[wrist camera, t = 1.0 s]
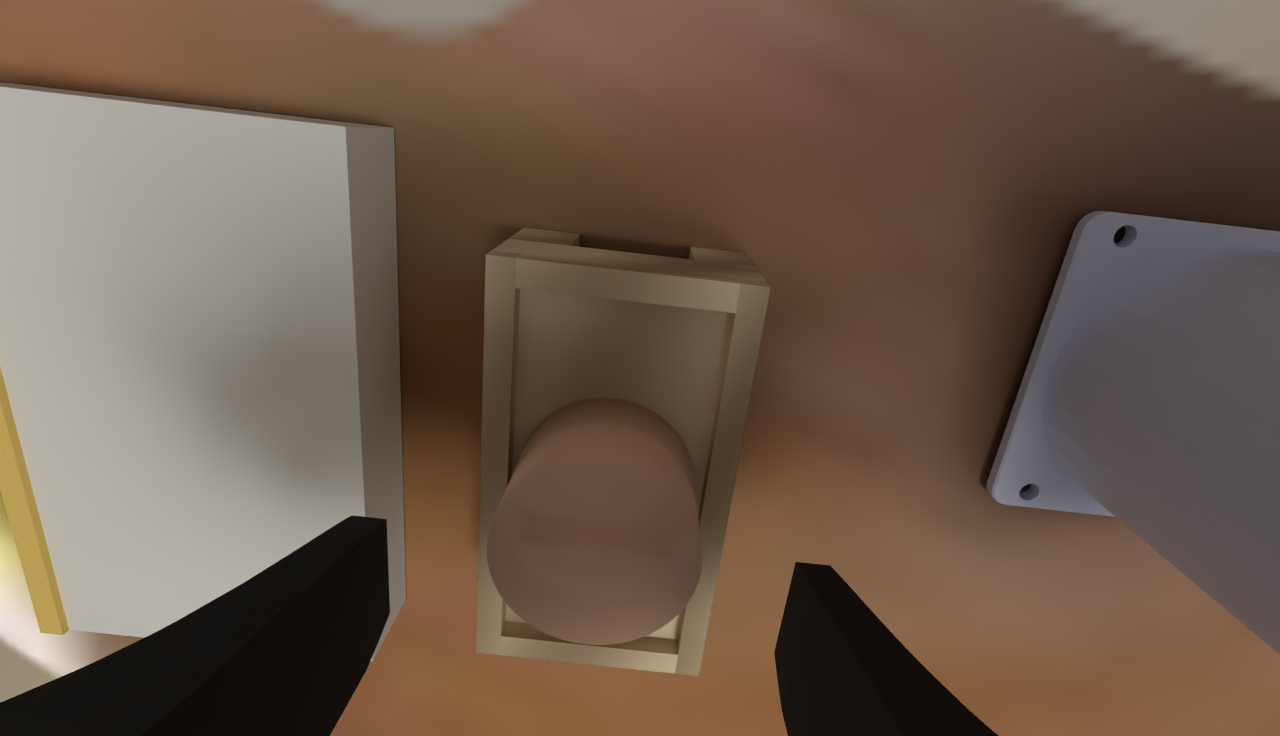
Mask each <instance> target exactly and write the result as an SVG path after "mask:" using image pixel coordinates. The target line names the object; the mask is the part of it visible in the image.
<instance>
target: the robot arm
mask: <svg viewBox="0 0 1280 736" xmlns="http://www.w3.org/2000/svg"><path fill="white" fill-rule="evenodd" d="M1122 226H1124V227H1125V229H1126V230H1125V236H1124V237H1123V239H1122V240H1121V241H1120V242H1118V243H1117V244H1115V243H1114V235H1115V233H1116V231H1117V230H1118V229H1119V228H1121V227H1122ZM1027 484H1031V486H1030V488H1029V489H1028V490H1027V491H1025V492H1022V493H1020V490H1021V488H1022V487H1023V486H1025V485H1027ZM987 490H988V493H989V494H990V495H991V496H992V497H993V498H994V499H995V500H996V501H997V502H998V503H1001V504H1004V505H1012V506H1021V507H1030V508H1039V509H1048V510H1057V511H1066V512H1075V513H1084V514H1094V515H1103V516H1112V517H1116V518H1118V519H1119V520H1120V521H1121V522H1122V523H1124V524H1125V525H1126V526H1127V527H1128V528H1130V529H1131V530H1132V531H1133V532H1134V533H1136V534H1137V535H1138V536H1139V537H1140V538H1141V539H1143V540H1144V541H1145V542H1146V543H1147V544H1149V545H1150V546H1151V547H1152V548H1153V549H1155V550H1156V551H1157V552H1158V553H1159V554H1161V555H1162V556H1163V557H1164V558H1165V559H1167V560H1168V561H1169V562H1170V563H1171V564H1173V565H1174V566H1175V567H1176V568H1177V569H1178V570H1180V571H1181V572H1182V573H1183V574H1184V575H1186V576H1187V577H1188V578H1189V579H1190V580H1192V581H1193V582H1194V583H1195V584H1196V585H1198V586H1199V587H1200V588H1201V589H1202V590H1204V591H1205V592H1206V593H1207V594H1208V595H1210V596H1211V597H1212V598H1213V599H1214V600H1215V601H1217V602H1218V603H1219V604H1220V605H1221V606H1223V607H1224V608H1225V609H1226V610H1227V611H1229V612H1230V613H1231V614H1232V615H1233V616H1235V617H1236V618H1237V619H1238V620H1239V621H1241V622H1242V623H1243V624H1244V625H1245V626H1247V627H1248V628H1249V629H1250V630H1251V631H1253V632H1254V633H1255V634H1256V635H1257V636H1258V637H1260V638H1261V639H1262V640H1263V641H1264V642H1266V643H1267V644H1268V645H1269V646H1270V647H1272V648H1273V649H1274V650H1275V651H1276V652H1278V653H1279V654H1280V231H1273V230H1264V229H1256V228H1247V227H1238V226H1230V225H1221V224H1213V223H1204V222H1195V221H1187V220H1178V219H1170V218H1161V217H1152V216H1144V215H1135V214H1127V213H1118V212H1109V211H1094V212H1092V213H1089V214H1087V215H1085V216H1084V217H1083V218H1082V219H1081V220H1080V221H1079V222H1078V224H1077V226H1076V228H1075V229H1074V232H1073V235H1072V238H1071V241H1070V244H1069V247H1068V250H1067V253H1066V255H1065V258H1064V261H1063V264H1062V267H1061V270H1060V273H1059V276H1058V279H1057V281H1056V284H1055V287H1054V290H1053V293H1052V296H1051V299H1050V302H1049V305H1048V307H1047V310H1046V313H1045V316H1044V319H1043V322H1042V325H1041V328H1040V331H1039V333H1038V336H1037V339H1036V342H1035V345H1034V348H1033V351H1032V354H1031V357H1030V359H1029V362H1028V365H1027V368H1026V371H1025V374H1024V377H1023V380H1022V383H1021V385H1020V388H1019V391H1018V394H1017V397H1016V400H1015V403H1014V406H1013V409H1012V411H1011V414H1010V417H1009V420H1008V423H1007V426H1006V429H1005V432H1004V435H1003V437H1002V440H1001V443H1000V446H999V449H998V452H997V455H996V458H995V461H994V463H993V466H992V469H991V472H990V475H989V478H988V481H987ZM389 614H390V598H389V570H388V542H387V519H382V518H372V517H363V516H353V515H352V516H350V517H348V518H346V519H345V520H343V521H341V522H340V523H338V524H336V525H335V526H333V527H331V528H330V529H328V530H327V531H325V532H323V533H322V534H320V535H319V536H317V537H316V538H314V539H312V540H311V541H309V542H308V543H306V544H305V545H303V546H302V547H300V548H298V549H297V550H295V551H294V552H292V553H291V554H289V555H287V556H286V557H284V558H283V559H281V560H279V561H278V562H276V563H275V564H273V565H271V566H270V567H268V568H267V569H265V570H263V571H262V572H260V573H259V574H257V575H255V576H254V577H252V578H250V579H249V580H247V581H246V582H244V583H242V584H241V585H239V586H237V587H235V588H234V589H232V590H230V591H228V592H227V593H225V594H223V595H221V596H220V597H218V598H216V599H214V600H213V601H211V602H209V603H207V604H206V605H204V606H202V607H200V608H199V609H197V610H195V611H193V612H192V613H190V614H188V615H186V616H185V617H183V618H181V619H179V620H178V621H176V622H174V623H172V624H170V625H168V626H166V627H164V628H163V629H161V630H159V631H157V632H155V633H153V634H151V635H149V636H147V637H145V638H143V639H141V640H139V641H137V642H135V643H133V644H131V645H129V646H127V647H125V648H123V649H121V650H119V651H117V652H115V653H113V654H110V655H108V656H106V657H104V658H102V659H100V660H98V661H96V662H94V663H92V664H89V665H87V666H85V667H83V668H81V669H79V670H76V671H74V672H72V673H69V674H67V675H65V676H62V677H60V678H58V679H55V680H53V681H50V682H48V683H46V684H44V685H41V686H39V687H36V688H34V689H32V690H29V691H27V692H25V693H22V694H20V695H18V696H16V697H13V698H11V699H8V700H6V701H4V702H1V703H0V736H330V734H331V732H332V730H333V729H334V727H335V725H336V723H337V722H338V720H339V718H340V716H341V715H342V713H343V711H344V709H345V707H346V706H347V704H348V702H349V700H350V699H351V697H352V695H353V693H354V691H355V690H356V688H357V686H358V684H359V682H360V681H361V679H362V677H363V675H364V673H365V671H366V670H367V668H368V665H369V663H370V661H371V658H372V656H373V654H374V651H375V649H376V647H377V644H378V642H379V639H380V637H381V634H382V632H383V629H384V627H385V624H386V622H387V619H388V617H389ZM774 653H775V661H776V669H777V678H778V686H779V693H780V700H781V707H782V712H783V717H784V721H785V725H786V729H787V733H788V736H998V735H997V734H996V733H994V732H993V731H992V730H991V729H990V728H989V727H987V726H986V725H985V724H984V723H983V722H982V721H981V720H980V719H978V718H977V717H976V716H975V715H974V714H973V713H972V712H971V711H969V710H968V709H967V708H966V707H965V706H964V705H963V704H962V703H961V702H960V701H959V700H958V699H957V698H956V697H955V696H954V695H953V694H952V693H950V692H949V691H948V690H947V689H946V688H945V687H944V686H943V685H942V684H941V683H940V682H939V681H938V680H937V679H936V678H935V677H934V676H933V675H932V674H931V673H930V672H929V671H928V670H927V669H926V668H925V667H924V666H923V665H922V664H921V663H920V662H919V661H918V660H917V659H916V658H915V657H914V656H913V655H912V654H911V653H910V652H909V651H908V650H907V649H906V648H905V647H904V646H903V645H902V643H901V642H900V641H899V640H898V639H897V638H896V637H895V636H894V635H893V634H892V633H891V632H890V631H889V630H888V628H887V627H886V626H885V625H884V624H883V623H882V622H881V621H880V620H879V619H878V618H877V616H876V615H875V614H874V613H873V612H872V611H871V610H870V609H869V608H868V607H867V605H866V604H865V603H864V602H863V601H862V600H861V599H860V598H859V597H858V595H857V594H856V593H855V592H854V591H853V590H852V589H851V588H850V587H849V585H848V584H847V583H846V582H845V581H844V580H843V579H842V578H841V577H840V576H839V574H838V573H837V572H836V571H835V570H834V569H833V568H832V567H831V566H829V565H819V564H810V563H800V562H796V563H795V568H794V572H793V576H792V580H791V585H790V589H789V593H788V597H787V601H786V606H785V610H784V614H783V618H782V623H781V627H780V631H779V635H778V640H777V644H776V648H775V652H774Z"/></svg>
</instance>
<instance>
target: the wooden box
mask: <svg viewBox="0 0 1280 736" xmlns="http://www.w3.org/2000/svg"><path fill="white" fill-rule="evenodd" d="M579 239H580V234H577V233H568V232H560V231H551V230H542V229H534V228H525V227H524V228H523V229H521V230H520V231H519V232H517V233H516V234H514V235H513V236H512V237H510V238H509V239H507V240H506V241H504V242H503V243H502V244H500V245H499V246H497V247H496V248H494V249H493V250H492V251H490V252H489V253H487V254H486V265H485V307H484V348H483V390H482V432H481V474H480V515H479V557H478V599H477V640H476V652H477V653H486V654H496V655H505V656H515V657H524V658H533V659H543V660H552V661H562V662H571V663H581V664H590V665H600V666H609V667H619V668H628V669H638V670H647V671H656V672H666V673H675V674H685V675H694V676H699V672H700V667H701V661H702V656H703V650H704V645H705V640H706V634H707V629H708V624H709V618H710V613H711V607H712V602H713V597H714V591H715V586H716V580H717V575H718V570H719V564H720V559H721V553H722V548H723V543H724V537H725V532H726V527H727V521H728V516H729V510H730V505H731V500H732V494H733V489H734V483H735V478H736V473H737V467H738V462H739V456H740V451H741V446H742V440H743V435H744V430H745V424H746V419H747V413H748V408H749V403H750V397H751V392H752V386H753V381H754V376H755V370H756V365H757V359H758V354H759V349H760V343H761V338H762V333H763V327H764V322H765V316H766V311H767V306H768V300H769V295H770V289H771V287H770V285H769V284H768V282H767V281H766V280H765V278H764V277H763V276H762V274H761V273H760V272H759V270H758V269H757V268H756V266H755V265H754V263H753V262H752V261H751V259H750V258H749V257H748V255H747V254H746V253H743V252H734V251H726V250H717V249H708V248H699V247H690V254H689V259H682V258H674V257H665V256H656V255H647V254H639V253H630V252H621V251H612V250H604V249H595V248H586V247H579ZM593 398H615V399H620V400H626V401H630V402H633V403H636V404H639V405H641V406H643V407H646V408H648V409H650V410H651V411H653V412H655V413H657V414H658V415H659V416H661V417H662V418H663V419H665V420H666V421H667V422H668V423H669V424H670V425H671V426H672V427H673V428H674V429H675V430H676V431H677V433H678V434H679V435H680V437H681V438H682V440H683V442H684V444H685V445H686V447H687V450H688V452H689V455H690V458H691V462H692V467H693V475H694V484H695V493H696V502H697V510H698V519H699V528H700V537H701V546H702V570H701V575H700V579H699V582H698V585H697V587H696V590H695V592H694V594H693V596H692V597H691V599H690V601H689V602H688V604H687V605H686V606H685V607H684V609H683V610H682V611H681V612H680V613H679V614H678V615H677V616H676V617H675V618H674V619H673V620H672V621H670V622H669V623H668V624H666V625H665V626H663V627H662V628H660V629H658V630H657V631H655V632H653V633H651V634H649V635H646V636H644V637H641V638H639V639H636V640H632V641H628V642H624V643H618V644H610V645H587V644H580V643H573V642H569V641H566V640H562V639H558V638H556V637H553V636H551V635H548V634H546V633H544V632H542V631H540V630H538V629H536V628H534V627H533V626H531V625H530V624H528V623H527V622H525V621H524V620H523V619H522V618H520V617H519V616H518V615H517V614H516V613H515V612H514V611H513V610H512V609H511V608H510V607H509V606H508V605H507V604H506V603H505V601H504V600H503V598H502V597H501V596H500V594H499V592H498V591H497V589H496V587H495V585H494V583H493V580H492V577H491V575H490V572H489V567H488V562H487V540H488V534H489V531H490V527H491V524H492V522H493V519H494V517H495V515H496V512H497V510H498V507H499V505H500V503H501V500H502V498H503V496H504V493H505V491H506V489H507V486H508V484H509V482H510V479H511V477H512V474H513V472H514V470H515V467H516V465H517V463H518V460H519V458H520V456H521V453H522V451H523V449H524V446H525V444H526V442H527V440H528V438H529V437H530V435H531V433H532V432H533V430H534V429H535V428H536V427H537V426H538V425H539V423H540V422H542V421H543V420H544V419H545V418H546V417H547V416H549V415H550V414H552V413H553V412H555V411H556V410H558V409H560V408H562V407H564V406H566V405H568V404H571V403H574V402H577V401H581V400H586V399H593Z"/></svg>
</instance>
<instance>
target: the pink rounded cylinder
mask: <svg viewBox="0 0 1280 736" xmlns="http://www.w3.org/2000/svg"><path fill="white" fill-rule="evenodd" d="M487 562H488V567H489V572H490V575H491V577H492V580H493V583H494V585H495V587H496V589H497V591H498V592H499V594H500V596H501V597H502V598H503V600H504V601H505V603H506V604H507V605H508V606H509V607H510V608H511V609H512V610H513V611H514V612H515V613H516V614H517V615H518V616H519V617H520V618H522V619H523V620H524V621H525V622H527V623H528V624H530V625H531V626H533V627H534V628H536V629H538V630H540V631H542V632H544V633H546V634H548V635H551V636H553V637H556V638H558V639H562V640H566V641H569V642H573V643H580V644H587V645H610V644H618V643H624V642H628V641H632V640H636V639H639V638H641V637H644V636H646V635H649V634H651V633H653V632H655V631H657V630H658V629H660V628H662V627H663V626H665V625H666V624H668V623H669V622H670V621H672V620H673V619H674V618H675V617H676V616H677V615H678V614H679V613H680V612H681V611H682V610H683V609H684V607H685V606H686V605H687V604H688V602H689V601H690V599H691V597H692V596H693V594H694V592H695V590H696V587H697V585H698V582H699V579H700V575H701V570H702V546H701V537H700V528H699V519H698V510H697V502H696V493H695V484H694V475H693V467H692V462H691V458H690V455H689V452H688V450H687V447H686V445H685V444H684V442H683V440H682V438H681V437H680V435H679V434H678V433H677V431H676V430H675V429H674V428H673V427H672V426H671V425H670V424H669V423H668V422H667V421H666V420H665V419H663V418H662V417H661V416H659V415H658V414H657V413H655V412H653V411H651V410H650V409H648V408H646V407H643V406H641V405H639V404H636V403H633V402H630V401H626V400H620V399H615V398H593V399H586V400H581V401H577V402H574V403H571V404H568V405H566V406H564V407H562V408H560V409H558V410H556V411H555V412H553V413H552V414H550V415H549V416H547V417H546V418H545V419H544V420H543V421H542V422H540V423H539V425H538V426H537V427H536V428H535V429H534V430H533V432H532V433H531V435H530V437H529V438H528V440H527V442H526V444H525V446H524V449H523V451H522V453H521V456H520V458H519V460H518V463H517V465H516V467H515V470H514V472H513V474H512V477H511V479H510V482H509V484H508V486H507V489H506V491H505V493H504V496H503V498H502V500H501V503H500V505H499V507H498V510H497V512H496V515H495V517H494V519H493V522H492V524H491V527H490V531H489V534H488V540H487Z"/></svg>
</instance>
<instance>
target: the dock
mask: <svg viewBox="0 0 1280 736" xmlns="http://www.w3.org/2000/svg"><path fill="white" fill-rule="evenodd" d="M0 490H1V494H2V497H3V501H4V504H5V508H6V511H7V515H8V518H9V522H10V525H11V529H12V533H13V536H14V540H15V543H16V547H17V550H18V554H19V557H20V561H21V564H22V568H23V571H24V575H25V579H26V582H27V586H28V589H29V593H30V596H31V600H32V603H33V607H34V610H35V614H36V617H37V621H38V625H39V628H40V632H41V633H49V634H59V635H63V634H65V633H66V632H67V631H68V630H78V631H88V632H97V633H107V634H116V635H126V636H135V637H147V636H149V635H151V634H153V633H155V632H157V631H159V630H161V629H163V628H164V627H166V626H168V625H170V624H172V623H174V622H176V621H178V620H179V619H181V618H183V617H185V616H186V615H188V614H190V613H192V612H193V611H195V610H197V609H199V608H200V607H202V606H204V605H206V604H207V603H209V602H211V601H213V600H214V599H216V598H218V597H220V596H221V595H223V594H225V593H227V592H228V591H230V590H232V589H234V588H235V587H237V586H239V585H241V584H242V583H244V582H246V581H247V580H249V579H250V578H252V577H254V576H255V575H257V574H259V573H260V572H262V571H263V570H265V569H267V568H268V567H270V566H271V565H273V564H275V563H276V562H278V561H279V560H281V559H283V558H284V557H286V556H287V555H289V554H291V553H292V552H294V551H295V550H297V549H298V548H300V547H302V546H303V545H305V544H306V543H308V542H309V541H311V540H312V539H314V538H316V537H317V536H319V535H320V534H322V533H323V532H325V531H327V530H328V529H330V528H331V527H333V526H335V525H336V524H338V523H340V522H341V521H343V520H345V519H346V518H348V517H350V516H352V515H353V516H363V517H372V518H382V519H387V542H388V570H389V598H390V614H389V617H388V619H387V622H386V624H385V627H384V629H383V632H382V634H381V637H380V639H379V642H378V644H377V647H376V649H375V651H374V654H373V656H372V658H371V661H373V659H374V658H375V656H376V654H377V652H378V650H379V648H380V647H381V645H382V643H383V641H384V639H385V637H386V635H387V634H388V632H389V630H390V628H391V626H392V624H393V622H394V621H395V619H396V617H397V615H398V613H399V611H400V609H401V608H402V606H403V604H404V602H405V600H406V582H405V542H404V502H403V463H402V423H401V384H400V344H399V304H398V265H397V225H396V185H395V146H394V128H391V127H383V126H374V125H366V124H357V123H348V122H340V121H331V120H323V119H314V118H305V117H297V116H288V115H280V114H271V113H263V112H254V111H245V110H237V109H228V108H220V107H211V106H202V105H194V104H185V103H177V102H168V101H159V100H151V99H142V98H134V97H125V96H116V95H108V94H99V93H91V92H82V91H74V90H65V89H56V88H48V87H39V86H31V85H22V84H13V83H0Z"/></svg>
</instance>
